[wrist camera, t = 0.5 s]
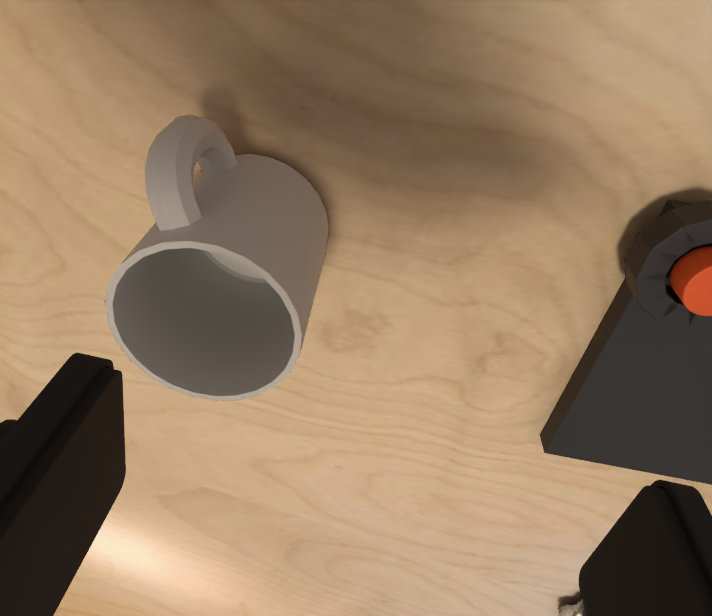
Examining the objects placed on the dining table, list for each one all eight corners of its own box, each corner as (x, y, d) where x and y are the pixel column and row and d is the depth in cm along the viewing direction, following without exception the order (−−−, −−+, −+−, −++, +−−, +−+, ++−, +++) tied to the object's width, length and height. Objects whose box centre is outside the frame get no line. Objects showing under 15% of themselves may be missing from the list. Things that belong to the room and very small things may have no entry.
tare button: (688, 240, 24) (703, 258, 23) (746, 252, 24) (765, 270, 23) (658, 290, 25) (671, 310, 24) (713, 301, 25) (729, 321, 24)
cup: (218, 293, 30) (157, 410, 23) (135, 108, 25) (23, 185, 18) (346, 271, 29) (324, 389, 22) (288, 70, 24) (233, 137, 16)
